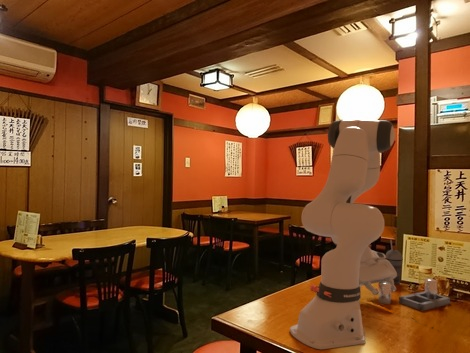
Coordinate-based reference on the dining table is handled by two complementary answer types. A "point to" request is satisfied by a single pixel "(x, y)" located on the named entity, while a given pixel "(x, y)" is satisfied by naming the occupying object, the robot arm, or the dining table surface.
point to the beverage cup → (395, 262)
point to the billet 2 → (431, 288)
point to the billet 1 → (384, 293)
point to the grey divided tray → (423, 301)
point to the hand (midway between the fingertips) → (385, 292)
